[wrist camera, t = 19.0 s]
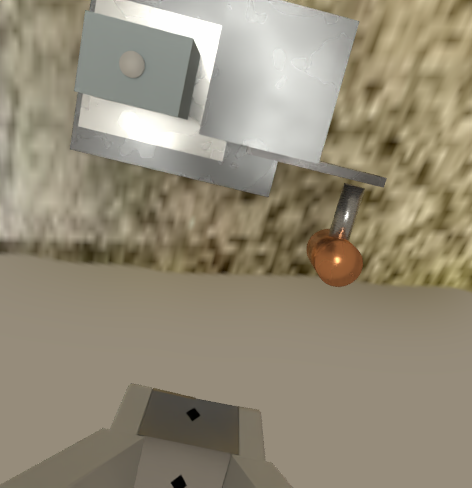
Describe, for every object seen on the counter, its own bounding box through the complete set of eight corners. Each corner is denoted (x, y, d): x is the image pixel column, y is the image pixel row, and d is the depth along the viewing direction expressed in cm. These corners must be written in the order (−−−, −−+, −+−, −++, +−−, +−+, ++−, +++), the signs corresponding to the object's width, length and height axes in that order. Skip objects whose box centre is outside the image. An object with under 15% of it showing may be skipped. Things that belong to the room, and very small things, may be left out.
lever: (301, 263, 32) (310, 281, 28) (326, 177, 30) (339, 184, 26) (340, 272, 32) (354, 291, 28) (367, 187, 30) (386, 195, 27)
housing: (101, 98, 34) (71, 90, 28) (111, 32, 33) (83, 8, 27) (187, 119, 35) (177, 116, 28) (200, 55, 33) (192, 36, 27)
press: (75, 148, 37) (-72, 161, 19) (101, -31, 33) (-48, -213, 16) (333, 211, 38) (415, 276, 21) (383, 44, 35) (532, -47, 17)
